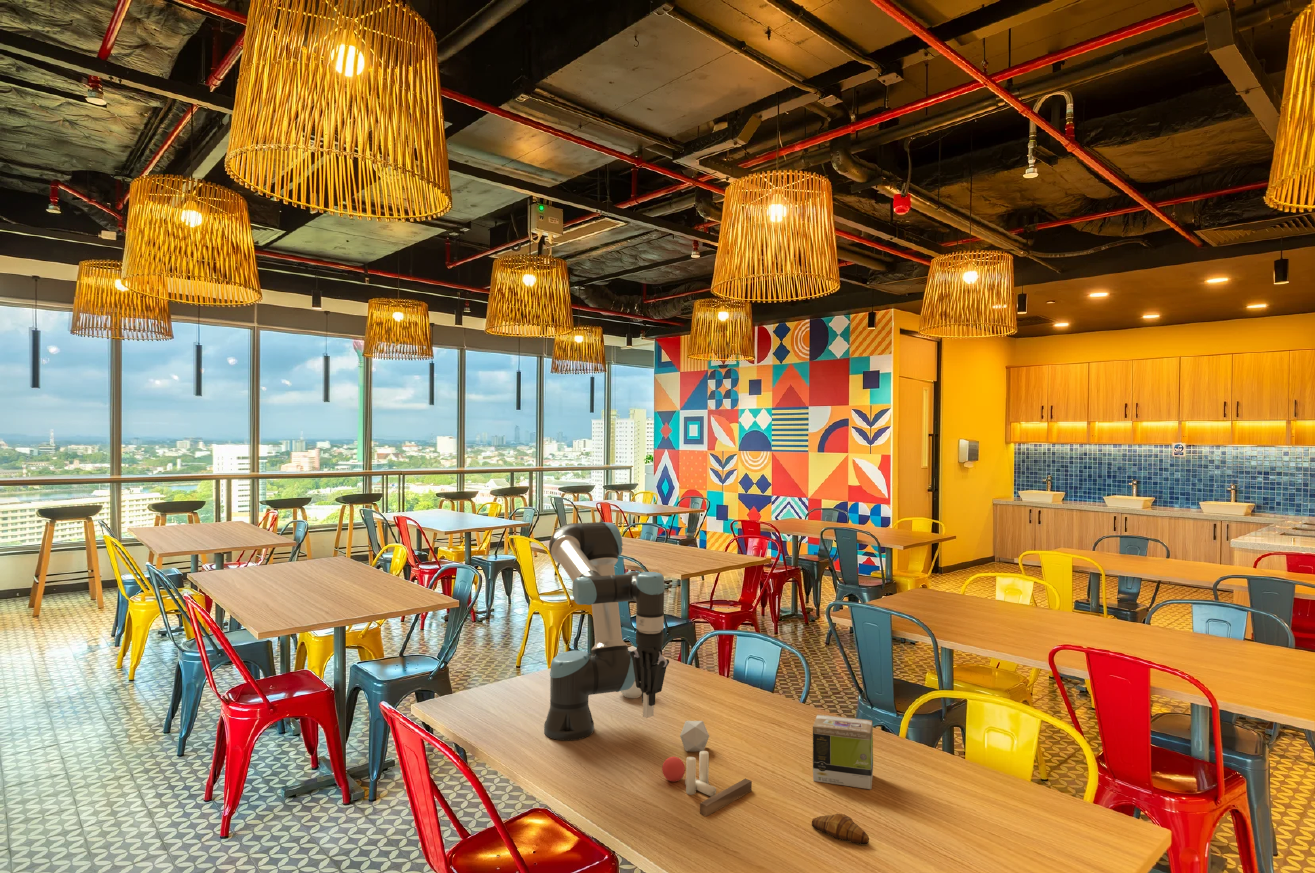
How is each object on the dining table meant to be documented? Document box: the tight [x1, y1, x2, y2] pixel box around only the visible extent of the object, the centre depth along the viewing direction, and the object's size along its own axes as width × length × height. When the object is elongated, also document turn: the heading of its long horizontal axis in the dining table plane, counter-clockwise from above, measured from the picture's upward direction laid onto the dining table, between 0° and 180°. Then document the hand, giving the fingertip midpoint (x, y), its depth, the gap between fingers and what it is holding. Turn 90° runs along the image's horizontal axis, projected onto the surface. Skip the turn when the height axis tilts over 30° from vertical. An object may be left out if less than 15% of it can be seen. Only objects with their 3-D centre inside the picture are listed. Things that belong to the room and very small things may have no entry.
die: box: [679, 720, 710, 752], centre depth 212 cm, size 8×9×10 cm
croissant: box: [811, 813, 870, 846], centre depth 166 cm, size 14×7×5 cm, turn 53°
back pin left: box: [698, 750, 710, 784], centre depth 190 cm, size 2×2×8 cm
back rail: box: [699, 778, 753, 817], centre depth 181 cm, size 2×18×2 cm, turn 136°
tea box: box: [812, 713, 874, 790], centre depth 195 cm, size 15×10×15 cm, turn 71°
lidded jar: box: [620, 681, 642, 699], centre depth 257 cm, size 11×11×9 cm
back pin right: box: [685, 756, 697, 795], centre depth 186 cm, size 2×2×8 cm
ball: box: [661, 756, 686, 782], centre depth 192 cm, size 6×6×6 cm
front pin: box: [684, 778, 717, 797], centre depth 187 cm, size 2×2×8 cm
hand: (648, 715), depth 200 cm, fingers closed
